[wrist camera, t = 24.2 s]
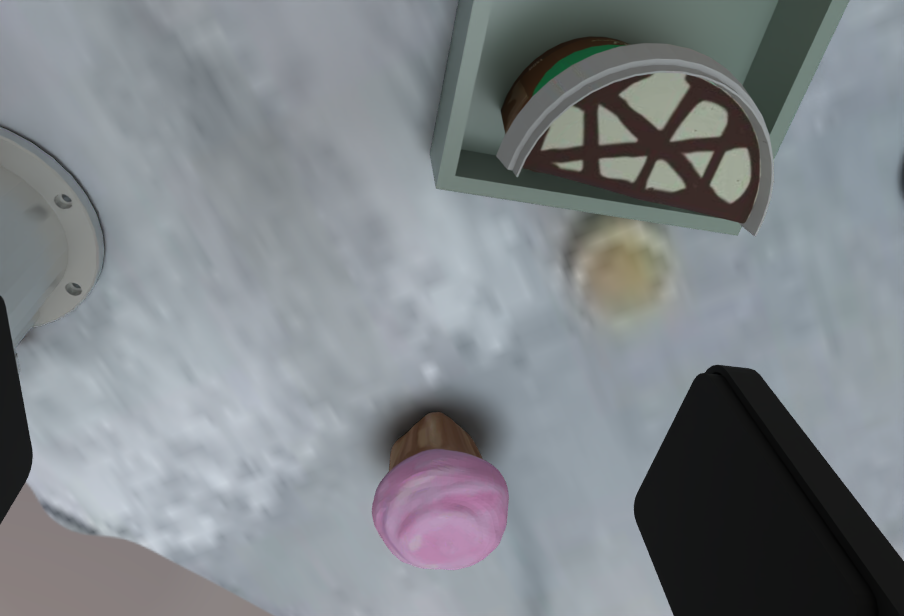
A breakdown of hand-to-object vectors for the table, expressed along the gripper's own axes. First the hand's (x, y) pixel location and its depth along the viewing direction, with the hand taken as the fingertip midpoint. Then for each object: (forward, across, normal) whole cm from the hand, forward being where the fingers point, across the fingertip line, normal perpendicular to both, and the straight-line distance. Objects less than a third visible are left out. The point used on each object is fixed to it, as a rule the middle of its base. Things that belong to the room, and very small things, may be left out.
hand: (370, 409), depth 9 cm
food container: (+28, -12, 0) cm, 30 cm away
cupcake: (+28, -8, +27) cm, 40 cm away
